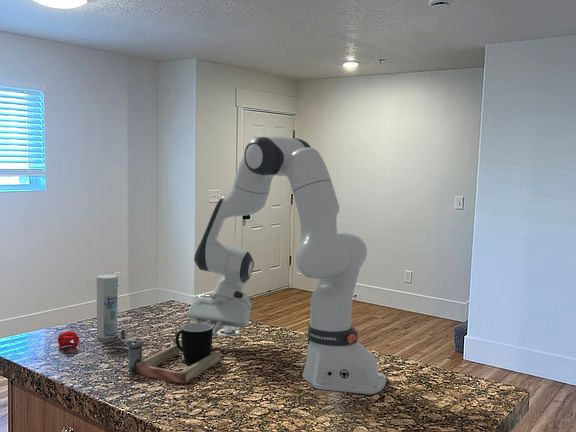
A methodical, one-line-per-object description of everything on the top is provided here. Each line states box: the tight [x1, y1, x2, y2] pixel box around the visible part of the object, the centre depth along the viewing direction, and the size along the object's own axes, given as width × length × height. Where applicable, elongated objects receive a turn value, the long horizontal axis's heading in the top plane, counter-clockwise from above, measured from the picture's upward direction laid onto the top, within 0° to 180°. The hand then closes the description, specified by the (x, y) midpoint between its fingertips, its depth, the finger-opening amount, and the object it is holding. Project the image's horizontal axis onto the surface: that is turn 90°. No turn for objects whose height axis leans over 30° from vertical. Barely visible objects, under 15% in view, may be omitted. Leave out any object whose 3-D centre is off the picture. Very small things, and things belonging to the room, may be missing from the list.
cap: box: [57, 330, 80, 350], centre depth 165 cm, size 7×6×6 cm
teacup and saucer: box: [216, 325, 240, 337], centre depth 187 cm, size 9×8×4 cm
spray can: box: [96, 274, 119, 340], centre depth 178 cm, size 6×6×20 cm
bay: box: [135, 343, 221, 385], centre depth 152 cm, size 15×19×3 cm
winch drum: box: [120, 329, 145, 373], centre depth 149 cm, size 7×5×11 cm, turn 68°
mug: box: [175, 322, 214, 366], centre depth 158 cm, size 12×9×10 cm
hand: (209, 335), depth 167 cm, fingers closed
